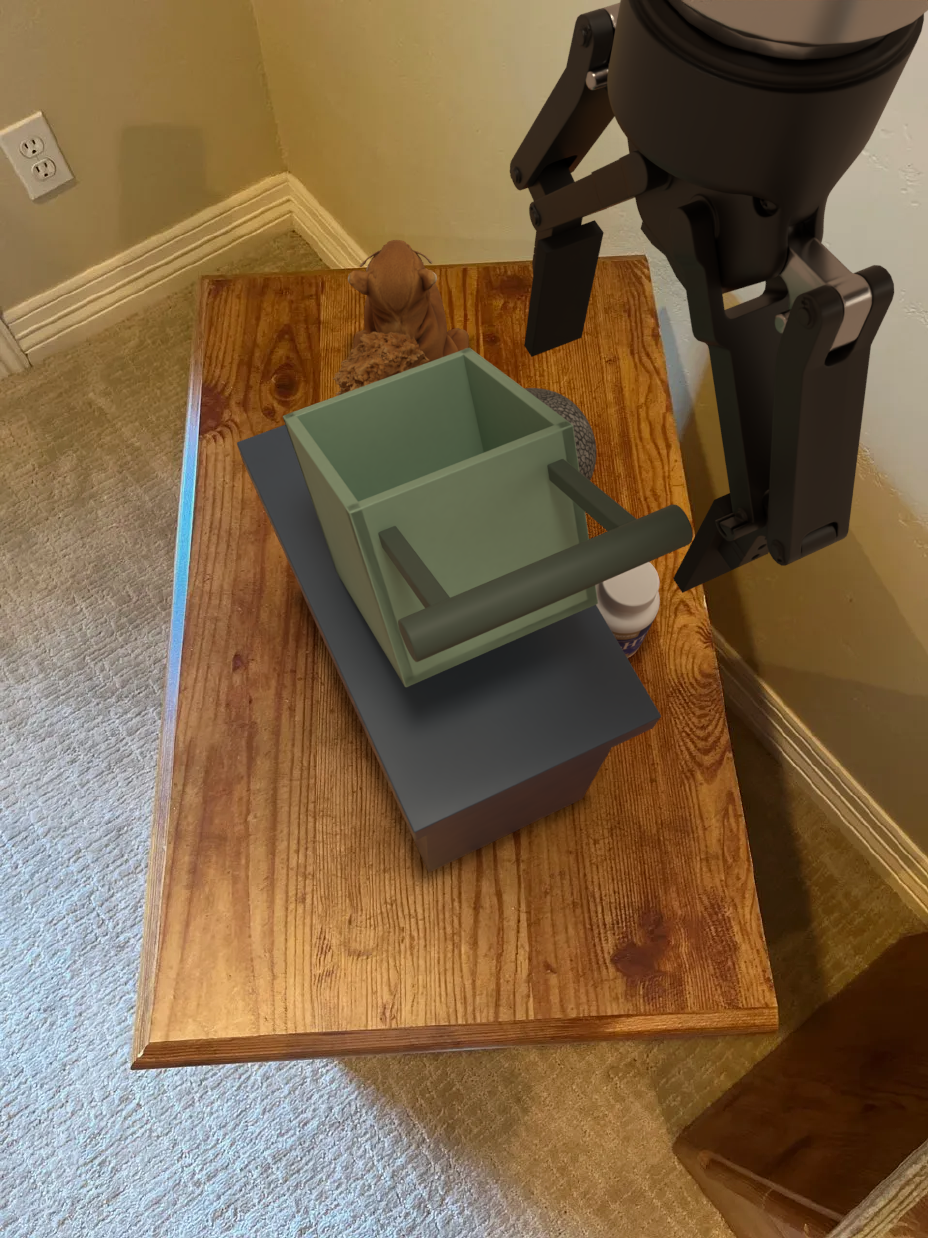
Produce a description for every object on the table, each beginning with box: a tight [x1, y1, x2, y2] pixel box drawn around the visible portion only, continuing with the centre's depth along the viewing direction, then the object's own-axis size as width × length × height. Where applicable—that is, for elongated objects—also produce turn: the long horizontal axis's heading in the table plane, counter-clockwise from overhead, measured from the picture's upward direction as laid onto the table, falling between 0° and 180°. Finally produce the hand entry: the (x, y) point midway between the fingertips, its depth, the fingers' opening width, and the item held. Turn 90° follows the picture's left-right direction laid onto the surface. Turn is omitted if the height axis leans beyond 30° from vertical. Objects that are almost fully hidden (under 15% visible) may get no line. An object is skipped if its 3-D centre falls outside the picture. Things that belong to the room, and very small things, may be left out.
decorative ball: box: [523, 387, 597, 481], centre depth 73 cm, size 10×10×10 cm
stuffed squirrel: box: [332, 239, 470, 396], centre depth 75 cm, size 10×14×13 cm
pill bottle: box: [596, 561, 661, 659], centre depth 68 cm, size 5×5×9 cm
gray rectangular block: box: [236, 424, 662, 874], centre depth 61 cm, size 25×14×20 cm, turn 26°
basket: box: [282, 347, 694, 687], centre depth 42 cm, size 19×11×10 cm, turn 26°
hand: (624, 451), depth 43 cm, fingers open, 13 cm apart
